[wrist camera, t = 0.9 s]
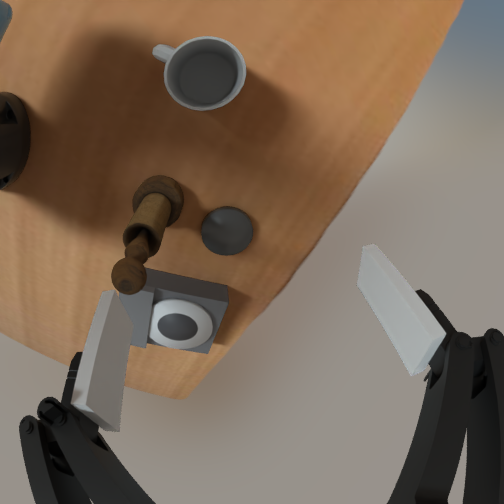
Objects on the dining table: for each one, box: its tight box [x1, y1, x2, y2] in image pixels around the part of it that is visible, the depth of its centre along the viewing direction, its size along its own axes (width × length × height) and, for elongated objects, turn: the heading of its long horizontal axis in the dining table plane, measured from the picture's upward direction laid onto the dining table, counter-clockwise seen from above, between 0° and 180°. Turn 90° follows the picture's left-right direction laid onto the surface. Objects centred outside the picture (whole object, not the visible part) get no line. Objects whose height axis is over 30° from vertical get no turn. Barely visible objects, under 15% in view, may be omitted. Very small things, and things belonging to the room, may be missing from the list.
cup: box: [152, 36, 246, 111], centre depth 23 cm, size 7×10×9 cm
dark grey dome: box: [201, 206, 253, 256], centre depth 38 cm, size 7×7×1 cm
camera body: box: [119, 268, 229, 354], centre depth 43 cm, size 16×13×5 cm
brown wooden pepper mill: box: [111, 176, 184, 295], centre depth 27 cm, size 7×6×18 cm
